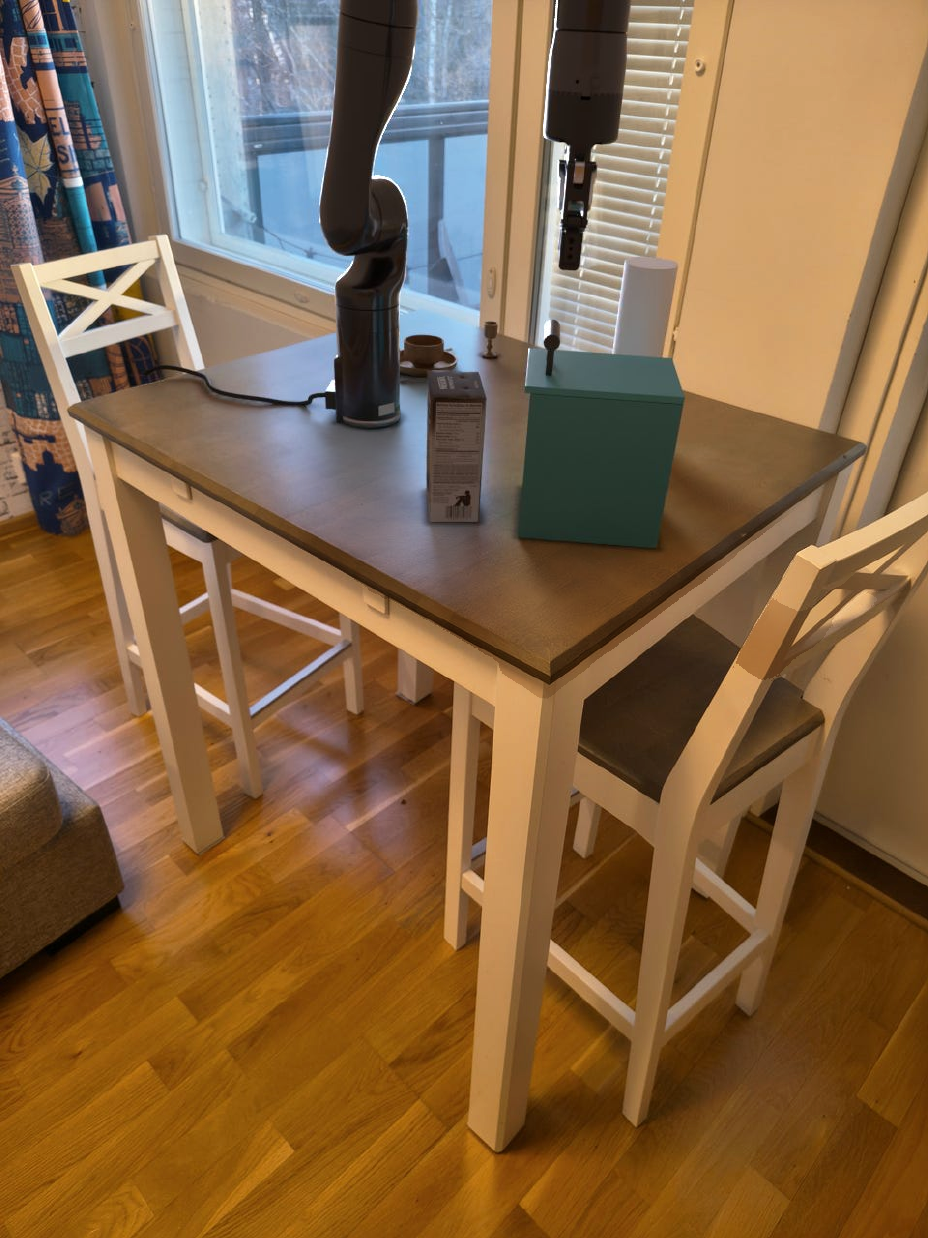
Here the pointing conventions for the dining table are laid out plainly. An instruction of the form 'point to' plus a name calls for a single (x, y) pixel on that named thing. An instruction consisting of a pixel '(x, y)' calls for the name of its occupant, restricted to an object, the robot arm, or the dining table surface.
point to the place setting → (435, 353)
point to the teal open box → (597, 469)
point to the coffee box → (454, 445)
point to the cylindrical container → (644, 306)
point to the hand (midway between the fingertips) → (567, 260)
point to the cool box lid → (600, 373)
